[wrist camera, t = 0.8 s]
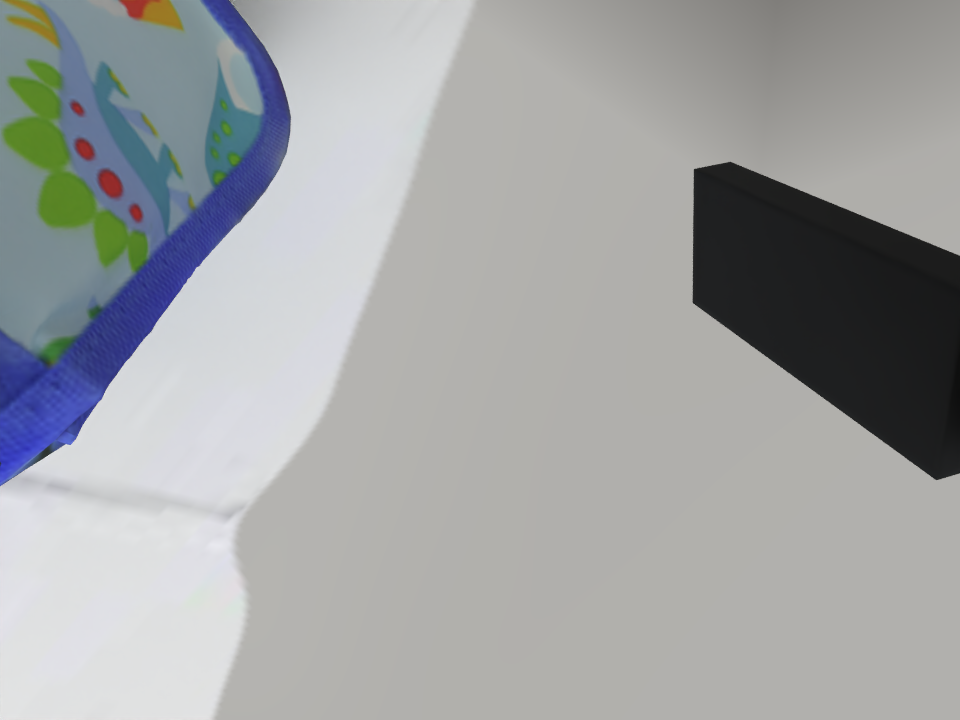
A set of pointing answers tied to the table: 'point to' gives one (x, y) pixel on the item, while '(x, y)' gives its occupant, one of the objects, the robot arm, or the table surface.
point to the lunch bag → (115, 187)
